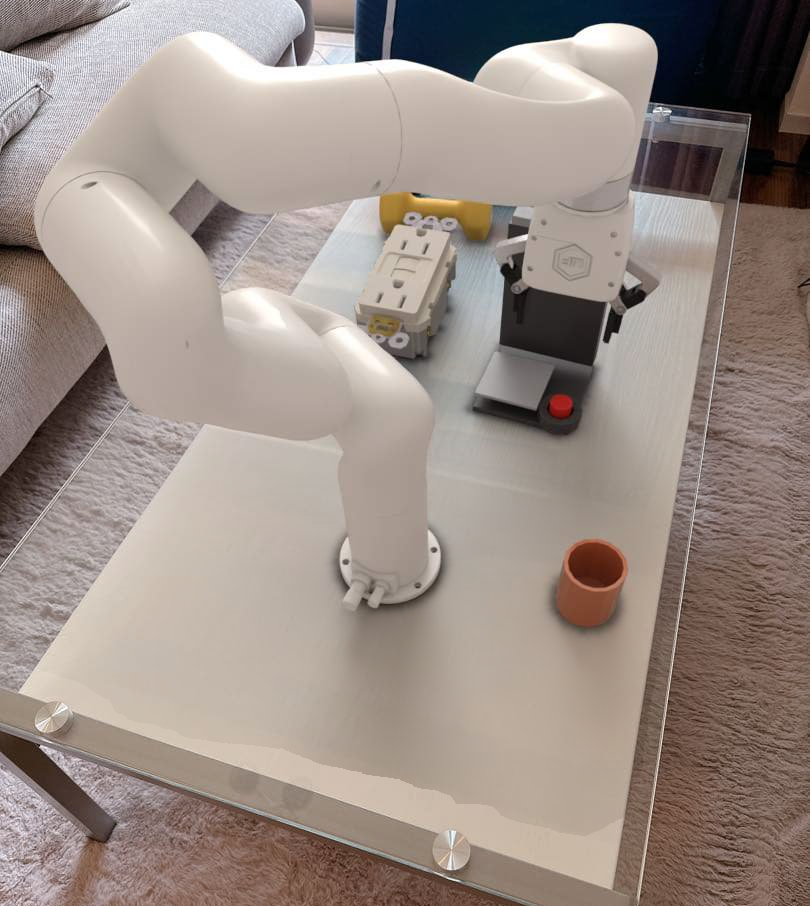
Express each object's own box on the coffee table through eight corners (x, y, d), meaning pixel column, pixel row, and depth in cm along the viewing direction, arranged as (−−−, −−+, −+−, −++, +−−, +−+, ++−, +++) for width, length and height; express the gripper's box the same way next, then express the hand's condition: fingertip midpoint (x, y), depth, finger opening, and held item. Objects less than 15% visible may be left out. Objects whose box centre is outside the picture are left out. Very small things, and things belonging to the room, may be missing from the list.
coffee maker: (571, 420, 109) (596, 291, 92) (474, 394, 113) (480, 266, 95) (596, 355, 116) (624, 225, 99) (504, 333, 120) (515, 203, 102)
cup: (606, 634, 93) (619, 599, 87) (548, 615, 95) (556, 580, 88) (620, 586, 97) (634, 549, 90) (564, 569, 98) (573, 531, 92)
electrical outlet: (468, 264, 132) (469, 211, 124) (418, 391, 119) (415, 342, 110) (400, 253, 134) (397, 200, 126) (343, 376, 121) (335, 327, 112)
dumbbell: (493, 219, 140) (496, 175, 133) (487, 251, 135) (489, 207, 128) (387, 211, 143) (385, 167, 136) (377, 242, 138) (374, 198, 131)
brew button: (567, 421, 110) (569, 412, 108) (546, 415, 110) (547, 406, 109) (573, 406, 111) (575, 397, 110) (552, 401, 112) (553, 392, 110)
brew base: (573, 441, 110) (575, 429, 108) (470, 414, 114) (470, 401, 112) (600, 370, 118) (603, 357, 116) (503, 346, 122) (504, 333, 120)
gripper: (489, 186, 75) (479, 331, 88) (677, 219, 71) (636, 365, 85) (511, 145, 79) (498, 290, 93) (690, 174, 75) (649, 320, 89)
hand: (564, 326), depth 89 cm, fingers open, 9 cm apart
